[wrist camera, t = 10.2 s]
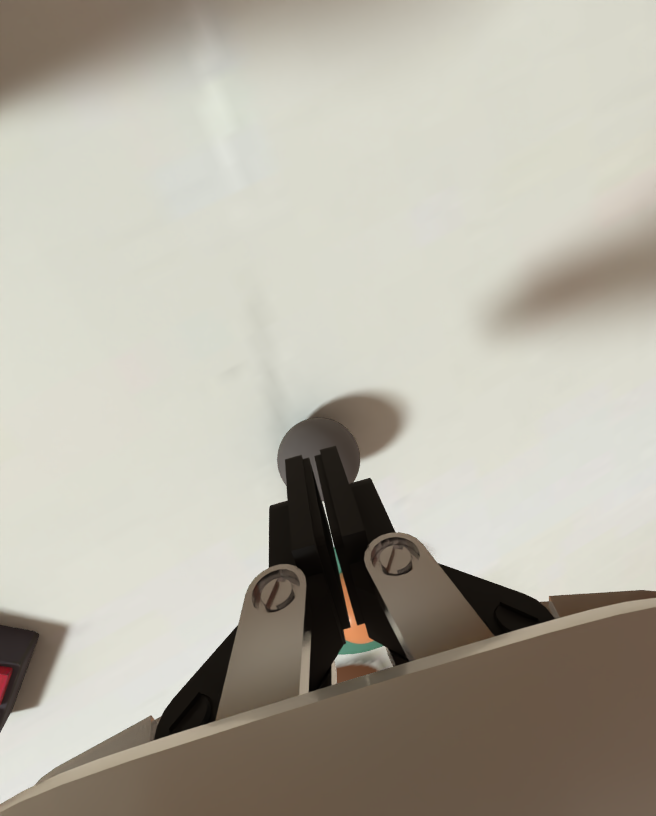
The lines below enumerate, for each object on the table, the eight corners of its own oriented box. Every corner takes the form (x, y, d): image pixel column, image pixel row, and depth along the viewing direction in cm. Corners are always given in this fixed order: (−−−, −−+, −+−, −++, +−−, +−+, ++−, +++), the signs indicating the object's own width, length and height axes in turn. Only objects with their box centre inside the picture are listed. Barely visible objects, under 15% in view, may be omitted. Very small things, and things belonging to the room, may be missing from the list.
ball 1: (288, 526, 22) (290, 493, 27) (376, 501, 22) (361, 473, 28) (263, 439, 21) (270, 423, 27) (354, 414, 21) (343, 404, 27)
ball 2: (339, 666, 29) (328, 602, 34) (405, 646, 29) (384, 585, 34) (324, 627, 26) (314, 564, 31) (397, 606, 26) (376, 546, 31)
